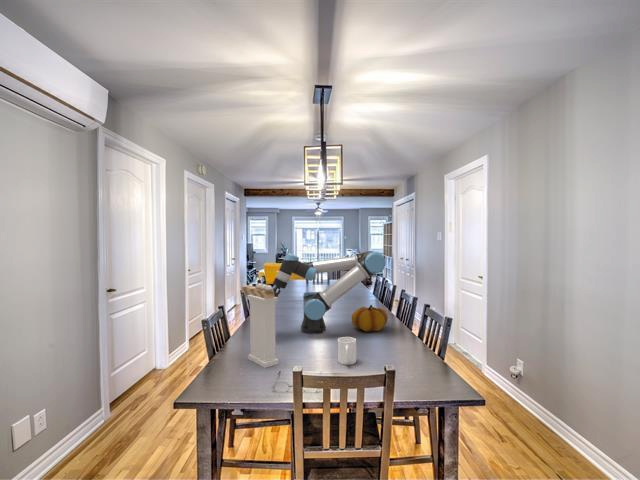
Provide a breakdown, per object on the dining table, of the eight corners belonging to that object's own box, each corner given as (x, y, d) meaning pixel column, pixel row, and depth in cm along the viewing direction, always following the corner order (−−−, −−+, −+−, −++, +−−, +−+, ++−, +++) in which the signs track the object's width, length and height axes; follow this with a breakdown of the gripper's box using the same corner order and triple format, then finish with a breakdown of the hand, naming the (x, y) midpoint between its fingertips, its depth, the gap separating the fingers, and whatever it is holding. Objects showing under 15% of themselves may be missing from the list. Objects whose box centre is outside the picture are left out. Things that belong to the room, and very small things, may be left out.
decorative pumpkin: (370, 323, 226) (369, 299, 226) (395, 330, 207) (394, 305, 207) (345, 328, 215) (345, 303, 215) (369, 336, 196) (369, 310, 196)
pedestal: (278, 363, 157) (277, 297, 156) (264, 367, 152) (263, 299, 152) (261, 355, 168) (260, 293, 168) (248, 358, 164) (247, 295, 163)
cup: (356, 358, 162) (355, 336, 162) (356, 368, 150) (356, 345, 150) (338, 358, 163) (338, 336, 163) (337, 368, 151) (337, 344, 151)
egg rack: (274, 297, 155) (274, 284, 155) (266, 299, 153) (266, 285, 153) (248, 291, 174) (248, 279, 174) (241, 292, 171) (241, 280, 171)
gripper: (275, 275, 207) (260, 307, 206) (275, 279, 182) (258, 316, 181) (287, 280, 208) (272, 312, 206) (288, 285, 183) (271, 322, 182)
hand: (265, 314), depth 194 cm, fingers open, 13 cm apart
